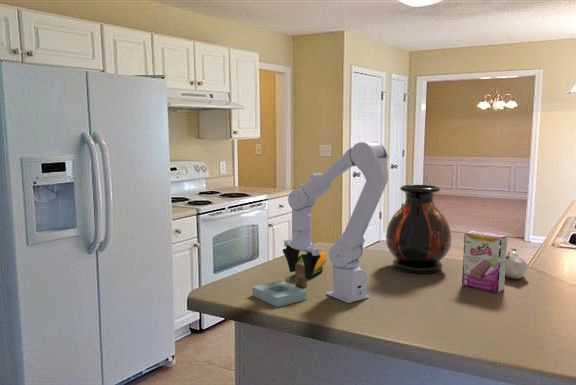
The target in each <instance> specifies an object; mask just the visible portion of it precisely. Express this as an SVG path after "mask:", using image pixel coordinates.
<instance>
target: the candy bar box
mask: <svg viewBox="0 0 576 385" xmlns="http://www.w3.org/2000/svg"><path fill="white" fill-rule="evenodd" d="M507 246H508V235H503V234H502V235H501V234H497V233H490V232H489V233H488V232H484V231H483V232H482V231H478V230H477V231H476V230H469V231H466V232H464V239H463V255H462V256H463V258H462V259H463V260H462V261H463V262H462V274H461V275H462V277H461V285H462V286H463V287H469V288H473V289H477V290H481V291H482V290H483V291H487V292H491V293H496V294H499V293H501V292H502V291H504V290H505V283H506V281H505V279H506V276H505V266H506V254H507V248H508V247H507Z"/></svg>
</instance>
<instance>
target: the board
mask: <svg viewBox="0 0 576 385" xmlns="http://www.w3.org/2000/svg"><path fill="white" fill-rule="evenodd" d="M251 287H252V289H251V291H252V293H251V294H252V296H253V297H255V298H258V299H259V300H261V301H263V302H265V303H268V304H270V305H272V306H274V307H276V308H279V307H283V306H287V305H290V304H295V303H297V302H298V303H299V302H303V301H306V300H307V290H305V289H301V288H298V287H296V286H295V285H292V284H290V283H288V282H285V281H283V280H277V281H274V282H268V283H264V284H259V285H255V286H251Z"/></svg>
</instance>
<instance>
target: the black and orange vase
mask: <svg viewBox="0 0 576 385" xmlns="http://www.w3.org/2000/svg"><path fill="white" fill-rule="evenodd" d="M399 189H400V191H401V192H404V193H405V198H406V199H405V202H404V203H403V205H402V206H401V207H400V208H399V209H397V211H396V212H395V213H394V214H393V215H392V217H391V219H390V221H389V223H388V225H387V227H386V228H387V229H386V233H385V244H386V245H387V246H386V247H387V248H388V251H389V252H390V254H392V255H393V257H394V259H393V261H392V265H393V266H394V268H396V269H397V270H400V271H402V272H406V273H412V274H433V273H436V272H437V273H438V272H439V271H441V270H442V268H443V262H442V261H441V260H443V259H444V258H445V257H446V256H447V254H449V252H450V249H451V247H452V231H451V227H450V225H449V222H448V220H447V218H446V216H445V215H444V214H443V213H442V212H441V211H440V209H438V207H437V206H436V204H435V203H434V197H435V196H434V195H435V194H436V193H439V192H440V190H441V188H440V187H438V186H437V185H430V184H429V185H428V184H405V185H402V186H400V187H399Z"/></svg>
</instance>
